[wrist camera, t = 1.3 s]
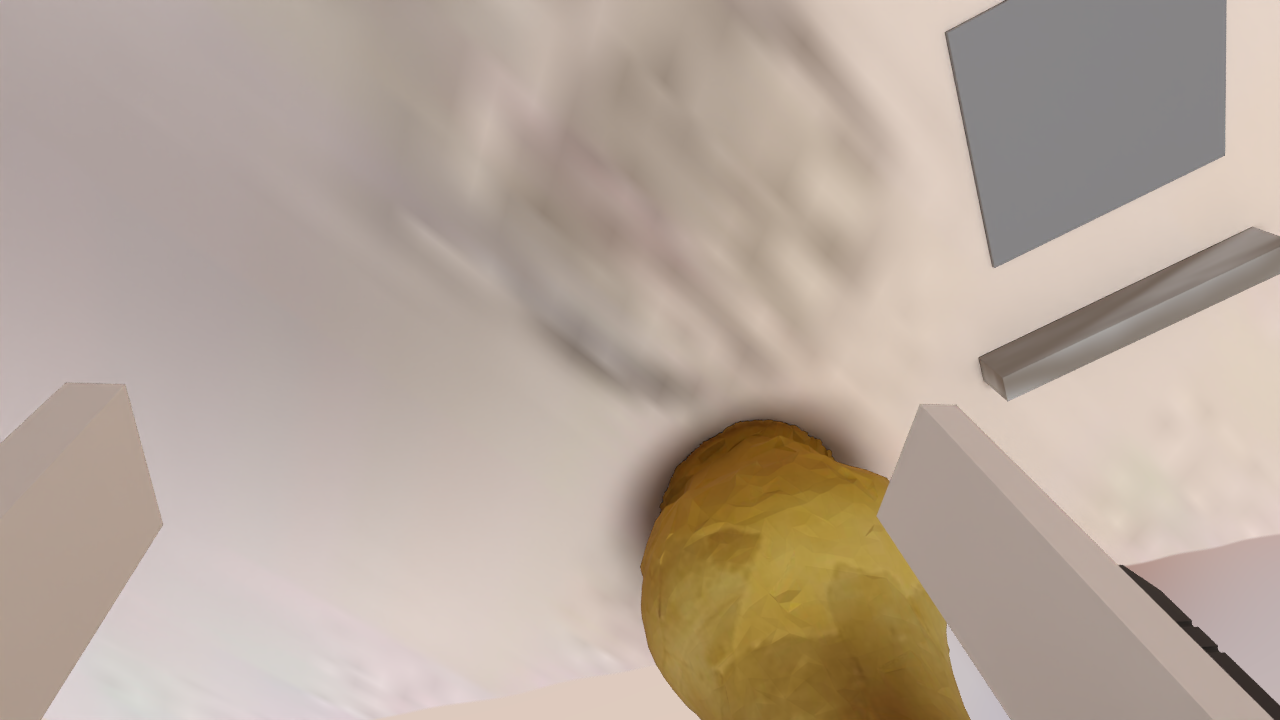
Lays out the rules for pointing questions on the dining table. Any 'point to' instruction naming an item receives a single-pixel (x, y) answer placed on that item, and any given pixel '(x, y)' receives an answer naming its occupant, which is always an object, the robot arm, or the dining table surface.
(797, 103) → the dining table surface
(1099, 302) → the wall
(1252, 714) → the robot arm
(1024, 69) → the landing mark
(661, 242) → the dining table surface
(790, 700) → the pitcher
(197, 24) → the dining table surface
